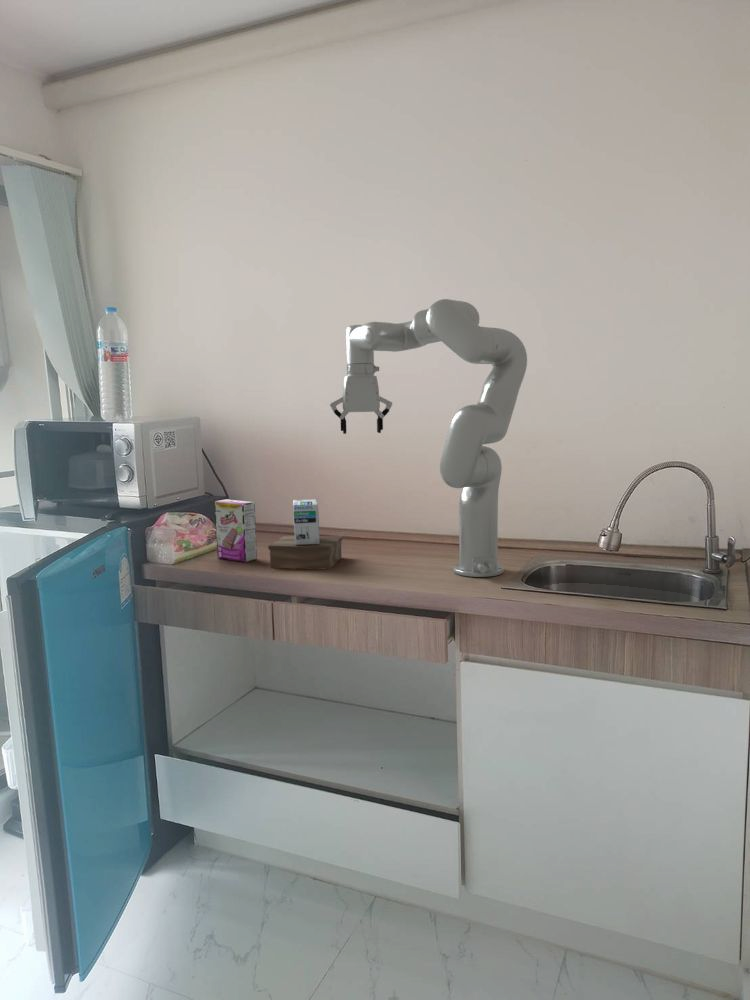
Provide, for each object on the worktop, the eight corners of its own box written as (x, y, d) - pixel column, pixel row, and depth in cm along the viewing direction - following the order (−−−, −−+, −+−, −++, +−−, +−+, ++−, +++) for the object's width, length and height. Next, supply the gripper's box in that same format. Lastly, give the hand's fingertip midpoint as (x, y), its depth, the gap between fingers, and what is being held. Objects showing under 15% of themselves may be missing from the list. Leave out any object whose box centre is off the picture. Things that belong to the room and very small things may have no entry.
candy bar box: (216, 558, 206) (213, 501, 204) (229, 555, 210) (226, 498, 208) (245, 563, 200) (242, 503, 197) (258, 559, 204) (255, 501, 202)
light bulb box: (320, 544, 192) (318, 504, 191) (294, 545, 192) (292, 505, 190) (318, 537, 203) (317, 498, 201) (294, 538, 202) (292, 499, 201)
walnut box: (330, 571, 190) (329, 546, 189) (269, 569, 193) (268, 545, 192) (342, 559, 204) (342, 536, 203) (285, 557, 207) (285, 535, 206)
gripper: (389, 371, 206) (390, 431, 209) (328, 372, 204) (330, 433, 207) (393, 370, 199) (394, 433, 201) (329, 371, 197) (331, 434, 199)
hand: (361, 433), depth 204 cm, fingers open, 9 cm apart
